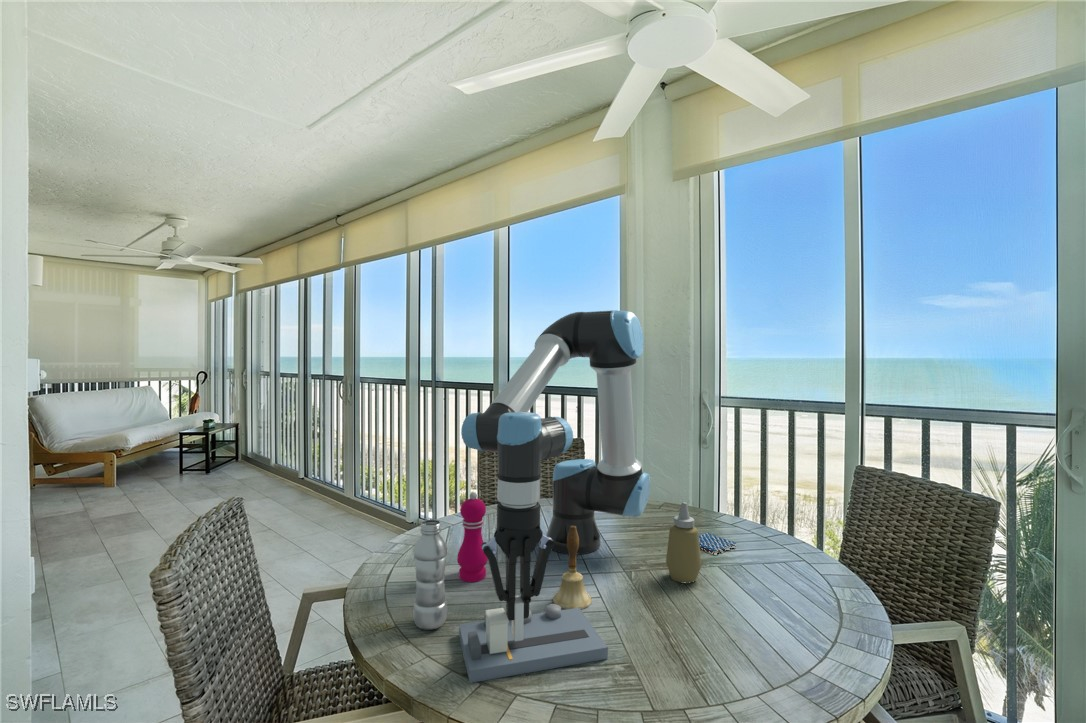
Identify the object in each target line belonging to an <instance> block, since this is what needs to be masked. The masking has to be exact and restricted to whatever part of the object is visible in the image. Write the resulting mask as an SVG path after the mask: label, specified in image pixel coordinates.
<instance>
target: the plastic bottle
mask: <svg viewBox="0 0 1086 723" xmlns="http://www.w3.org/2000/svg"><path fill="white" fill-rule="evenodd" d="M441 531H442V528H441V521H440V520H437V519H426V520H423V521H421V524H420V534H421V536H420V537H419V538H418V539H417V541H416V542H415V544H414V548H413V553H412V554H413V561H414V566H415V568H414V569H415V582H416V583H415V586H416V587H415V598H414V603H413V607H412V608H413V610H412V617H413V622H414V623H415V625H416V626H417V628H418V629H420V630H424V631H425V630H426V631H427V630H428V631H429V630H430V631H431V630H435V629H438V628H440V627H442V626H443V625H444V623H445V622H446V621H447V618H448V604H447V598H446V588H445V575H446V574H445V572H446V563H447V556H448V555H447V554H448V547H447V543H446V542H445V540H444V538H443V537H442V536H441V535H440V533H441Z"/></svg>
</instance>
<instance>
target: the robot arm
mask: <svg viewBox="0 0 1086 723" xmlns="http://www.w3.org/2000/svg"><path fill="white" fill-rule="evenodd" d="M644 342H645V340H644V334H643V329H642V325H641V323H640V321H639V318H638V317H637V315H636V314H635V313H634V312H632V311H629V310H617V309H615V310H598V311H577V312H570V313H569V314H566V315H564V316H563V317H560V318H559V319H557V320H556V321H555V322H553V323H551V324H550V325H549V326H548V327H546V328H545V329H544V330H543V331H542V333H541V334H540V335H539V336H538V337H537V338H536V340H535V342H534V349H532V351H531V352H530V353H529V355H528V356H527V358H526V359H525V360H524V361H523V362H522V364H521V365H520V366H519V368H518V369H517V370H516V371H515V373H514V374H513V375H512V376H511V378H510V379H509V381H508V382H507V383H506V384H505V385H504V387H503V388H502V389H501V391H499V393H498V394H497V396H496V397H495V398H494V399H493V401H492V402H491V403H490V405H489V406H488V407H487V408H486V410H485V411H484V412H481V411H479V412H472V413H470V414H468V415H467V416H466V417H465V418H464V420H463V422H462V425H461V429H460V430H461V432H460V433H461V439H462V440H463V443H464V445H465V446H466V447H467V448H469V449H471V450H472V449H473V450H477V451H481V452H491V453H497V491H496V493H497V494H496V495H497V498H496V499H497V501H498V503H497V504H496V506H497V507H496V528H495V529H496V530H495V531H494V533H493V538H492V539H490V540H489V541H488V542H486V541H483V542H484V543H482V545H481V547H482V549H483V552H484V554H485V555H486V556H487V558H488V561H487V562H488V565H489V568H490V569H489V570H490V573H491V577H492V582H493V585H494V586H493V587H494V590H495V591H494V592H495V594H496V596H497V599H498V600H499V601H500V602H502V601H504V602H505V603H506V604H505V608H506V609H505V610H506V611H505V613H506V615H507V618H508V620H509V621H511V620H512V635H513V638H514V640H515V641H521V640H523V626H524V618H528V616H529V610H530V603H531V602H532V598H533V597H539V596H540V595H541V591H542V586H543V583H544V579H545V578H544V577H545V572H546V568H547V564H548V560H549V556H550V554H551V552H552V551H554V552H558V553H560V554H561V553H563V554H568V555H569V552H568V548H567V536H568V533H569V530H570V526H576V529H577V532H578V536H579V547H578V551H577V555H583V554H589V553H593V552H595V551H597V550H599V549H600V547H601V535H600V532H599V528H598V525H597V522H596V517H595V512H599V513H605V514H611V515H617V516H621V517H629V518H638V517H640V516H641V515H642V514H643V513H644V511H645V509H646V508H647V506H646V505H647V503H648V500H649V496H650V491H651V490H650V489H651V477H650V474H649V473H646V472H643V464H642V462H641V461H640V460H639V459H637V457H636V446H635V444H636V443H635V442H636V441H635V428H634V426H635V425H634V410H633V408H634V407H633V391H632V388H633V387H632V373H631V370H632V369H633V368H634V367H635V366H636V365H637V359H639V358H640V357H641V356H642V354H643V352H644ZM575 358H589V367H590V368H591V369H592V370H593V371H595V373H596V386H597V387H596V388H597V399H598V400H597V401H598V414H599V426H600V427H599V428H600V431H599V432H600V440H601V441H600V442H601V460H600V461H599V462H598V463H597V466H596V462H595V460H594V459H588V458H585V459H584V458H581V459H580V458H579V459H569V460H564V461H561V462H558V463H556V464H555V466H554V467H553V470H552V471H553V473H552V480H551V481H552V516H551V520H550V523H549V526H548V529H547V532H546V535H545V534H543V530H542V528H541V504H540V501H541V466H542V465H541V464H542V462H543V461H546V460H550V459H552V458H556V457H559V456H560V455H562V454H564V453H565V452H566V451H568V450H569V449H570V448H571V446H572V443H573V439H574V431H573V429H572V427H571V424H570V423H569V422H568V421H567V419H564V418H563V417H559V416H547V417H545V418H544V417H543V418H542V417H541V416H540V415H539V414H538V413H536V412H529V411H530V410H531V409H532V407H533V405H534V404H535V403H536V401H537V400H538V398H539V397H540V395H541V394H542V392H543V391H544V390H545V388H546V387H547V385H548V384H549V383H550V381H551V379H552V378H553V377H554V375H555V373H556V372H557V371H558V370H559V368H560V367H563V366H565V365H567V363H568V362H570V360H571V359H575ZM497 545H498V546H499V548H500V549H501V551H502V552H503V553H504V555H505V589H504V584H503V580H502V577H501V573H500V569H499V563H498V559H497V558H496V553H497V552H498V550H497ZM538 545H539V548H538V551H537V555H536V560H535V564H534V568H533V571H532V575H531V562H532V553H533V551H534V550H535V549H536V547H537V546H538ZM518 557H519V559H520V563H519V593H520V595H516V591H517V589H516V588H517V586H516V585H517V584H516V583H517V561H518ZM531 576H532V577H531Z"/></svg>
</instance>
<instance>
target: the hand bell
mask: <svg viewBox="0 0 1086 723" xmlns="http://www.w3.org/2000/svg"><path fill="white" fill-rule="evenodd" d="M578 547H579V536H578V532H577V529H576V526H570V530H569V533H568V536H567V548H568V552H569V554H568V570H567V571H566V572H565V573H563V574H562V576H561V583H560V586H559V590H558V591H556V593H555V594H554V595H553V599H552V601H553V604H557V605H559V606H560V607H561V609H562V610H567V609H574V608H580V609H581V610H583V609H586V608H588V607H589V606H591V604H592V602H593V601H592V597H591V596H590V594H589V593H588V592H587V590H586V588H585V584H584V576H583V575H582V574H581V573H580V572H578V571H577V555H578V554H577V551H578Z"/></svg>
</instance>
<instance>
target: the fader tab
mask: <svg viewBox="0 0 1086 723" xmlns="http://www.w3.org/2000/svg"><path fill="white" fill-rule="evenodd" d="M484 613H485V614H484V615H486V643H487V646H488V650H489V653H490V654H493V653H500V652H506V651H507V639H508V617H507V615H506V611H505V608H504V607H497V608H491V609H485V612H484Z"/></svg>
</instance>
